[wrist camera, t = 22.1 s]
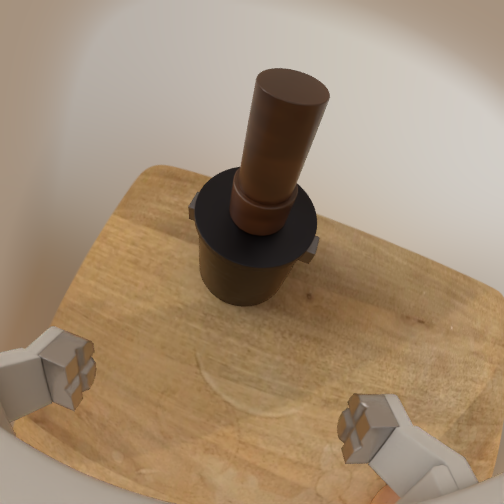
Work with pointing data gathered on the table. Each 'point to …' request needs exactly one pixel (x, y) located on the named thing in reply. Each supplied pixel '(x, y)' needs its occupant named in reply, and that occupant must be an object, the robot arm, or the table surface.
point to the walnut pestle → (275, 148)
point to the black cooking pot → (248, 245)
